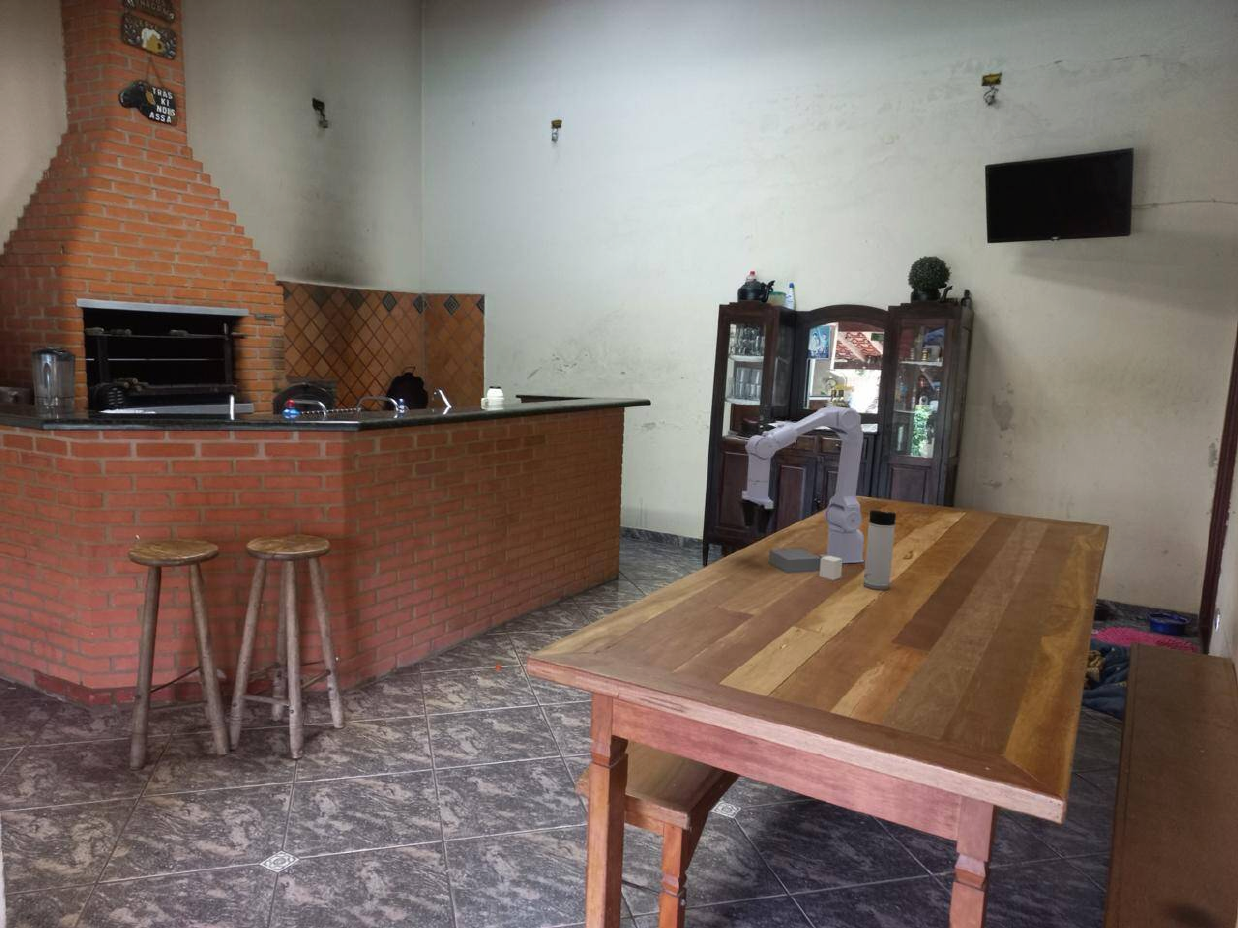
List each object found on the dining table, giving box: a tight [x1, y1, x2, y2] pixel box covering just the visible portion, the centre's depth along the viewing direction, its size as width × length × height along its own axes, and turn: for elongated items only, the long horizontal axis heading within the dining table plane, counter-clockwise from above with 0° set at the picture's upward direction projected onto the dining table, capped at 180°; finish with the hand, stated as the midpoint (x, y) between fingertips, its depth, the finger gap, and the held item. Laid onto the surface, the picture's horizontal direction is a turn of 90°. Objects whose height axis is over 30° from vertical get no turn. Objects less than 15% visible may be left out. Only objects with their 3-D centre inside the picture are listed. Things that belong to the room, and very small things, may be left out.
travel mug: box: [863, 509, 897, 591], centre depth 196 cm, size 6×7×20 cm
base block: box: [768, 548, 822, 574], centre depth 212 cm, size 10×10×4 cm
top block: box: [819, 556, 843, 581], centre depth 204 cm, size 4×4×5 cm
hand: (755, 529), depth 211 cm, fingers open, 7 cm apart
